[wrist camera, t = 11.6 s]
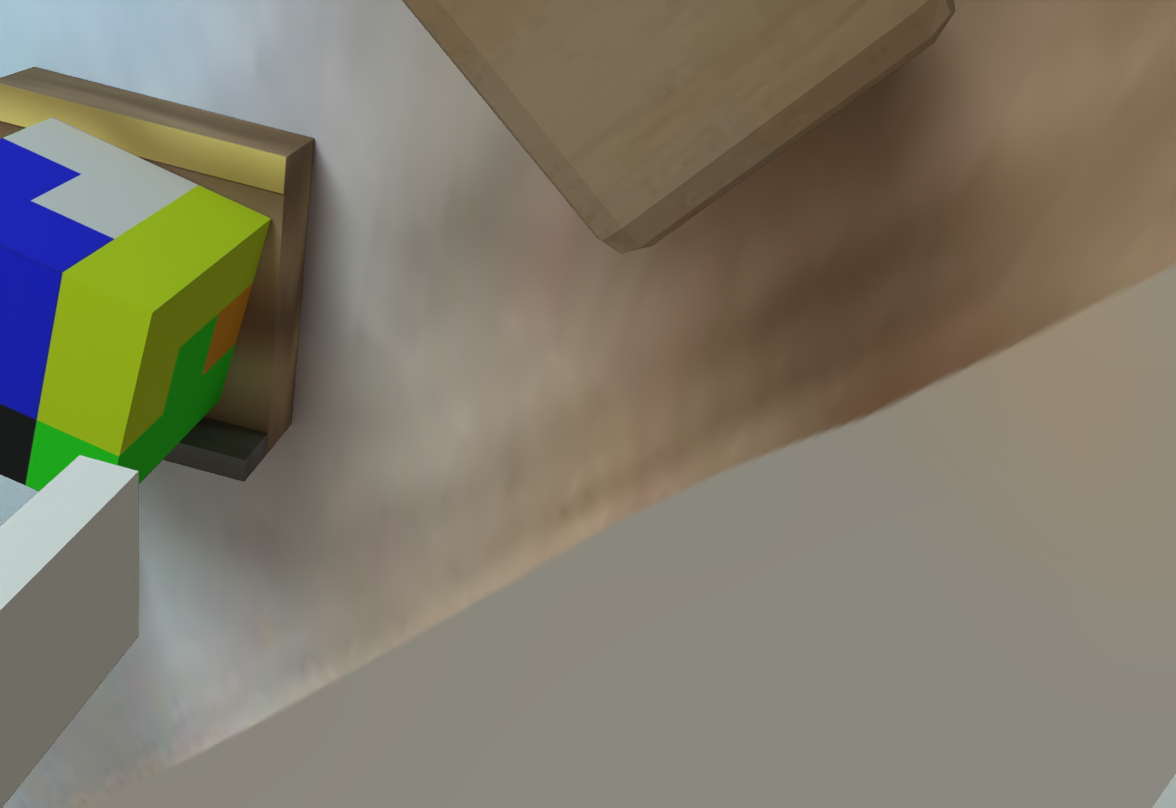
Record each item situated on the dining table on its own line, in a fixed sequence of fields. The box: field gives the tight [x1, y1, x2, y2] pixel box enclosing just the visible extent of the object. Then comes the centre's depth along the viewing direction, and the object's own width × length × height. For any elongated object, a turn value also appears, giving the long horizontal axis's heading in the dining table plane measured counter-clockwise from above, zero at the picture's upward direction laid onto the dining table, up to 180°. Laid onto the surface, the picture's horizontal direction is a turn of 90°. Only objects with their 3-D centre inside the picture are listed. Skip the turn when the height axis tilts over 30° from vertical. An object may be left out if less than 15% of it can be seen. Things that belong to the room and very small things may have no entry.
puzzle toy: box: [0, 117, 271, 491], centre depth 44 cm, size 10×10×10 cm
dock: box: [0, 67, 314, 481], centre depth 49 cm, size 15×13×6 cm
